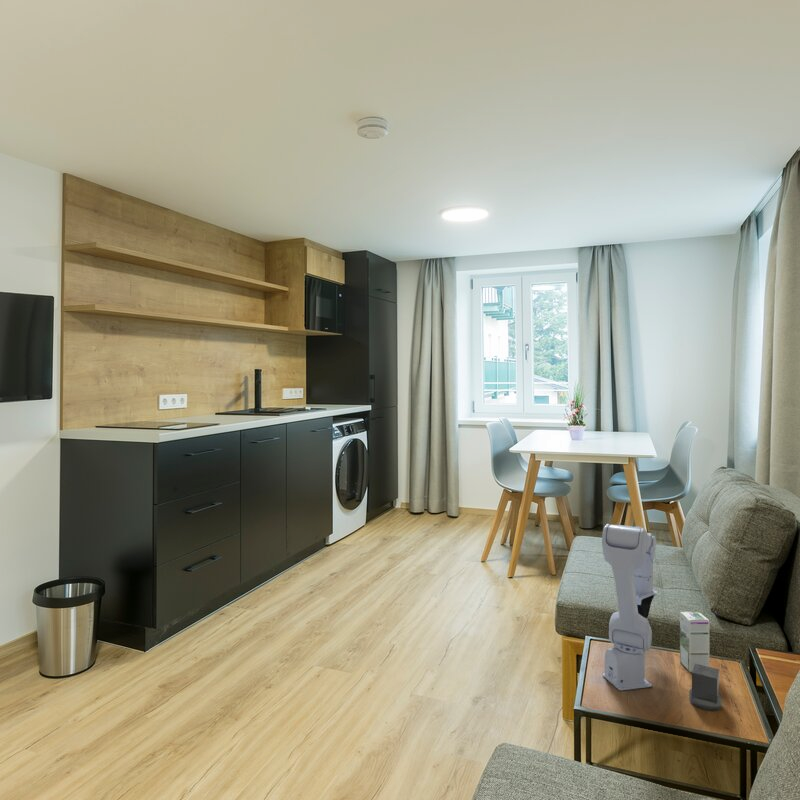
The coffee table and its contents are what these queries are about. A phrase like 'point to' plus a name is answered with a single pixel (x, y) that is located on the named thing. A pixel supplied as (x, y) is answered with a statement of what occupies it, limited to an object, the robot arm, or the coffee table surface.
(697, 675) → the socket
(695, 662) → the syrup box
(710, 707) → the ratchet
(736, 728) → the coffee table surface
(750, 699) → the coffee table surface
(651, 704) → the coffee table surface
